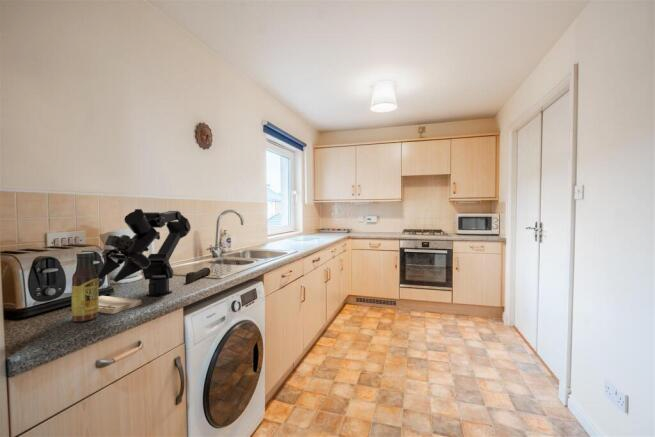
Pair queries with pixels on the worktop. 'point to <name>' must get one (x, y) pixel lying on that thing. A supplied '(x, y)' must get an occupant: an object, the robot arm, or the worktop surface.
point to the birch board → (116, 304)
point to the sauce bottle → (85, 289)
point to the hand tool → (196, 275)
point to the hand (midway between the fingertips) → (106, 279)
